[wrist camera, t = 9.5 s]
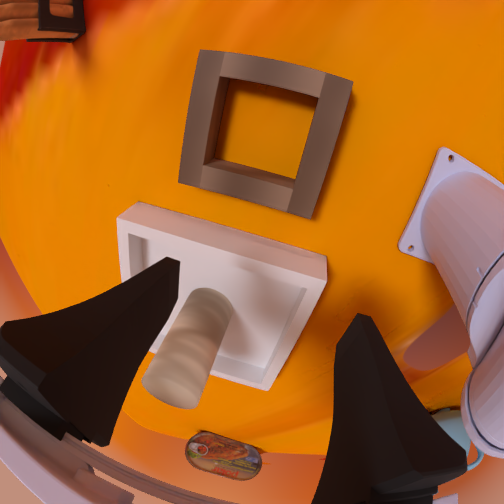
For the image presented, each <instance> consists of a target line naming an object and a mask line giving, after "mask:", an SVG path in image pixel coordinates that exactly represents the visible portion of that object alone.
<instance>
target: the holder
mask: <svg viewBox="0 0 504 504" xmlns="http://www.w3.org/2000/svg"><path fill="white" fill-rule="evenodd" d="M230 78H232V79H239V80H244V81H250V82H255V83H260V84H265V85H270V86H274V87H278V88H283V89H287V90H291V91H295V92H299V93H302V94H306V95H309V96H313V97H316V98H318V101H317V105H316V109H315V112H314V116H313V120H312V123H311V127H310V130H309V134H308V137H307V141H306V144H305V148H304V151H303V155H302V158H301V162H300V165H299V169H298V172H297V176H296V179H292V178H288V177H285V176H282V175H278V174H274V173H271V172H267V171H264V170H260V169H256V168H252V167H249V166H245V165H241V164H237V163H233V162H229V161H224V160H220V159H216V158H214V155H215V150H216V144H217V139H218V133H219V128H220V123H221V118H222V113H223V108H224V103H225V98H226V93H227V89H228V84H229V80H230ZM352 85H353V81H350V80H347V79H345V78H342V77H338V76H335V75H332V74H329V73H326V72H322V71H319V70H315V69H312V68H308V67H304V66H300V65H296V64H292V63H288V62H283V61H278V60H274V59H268V58H263V57H258V56H252V55H245V54H238V53H231V52H222V51H212V50H200V52H199V56H198V61H197V65H196V70H195V75H194V80H193V85H192V90H191V96H190V102H189V107H188V113H187V119H186V126H185V132H184V139H183V146H182V154H181V162H180V170H179V179H178V183H182V184H186V185H190V186H194V187H198V188H202V189H205V190H209V191H213V192H217V193H221V194H224V195H228V196H232V197H236V198H239V199H243V200H246V201H250V202H254V203H257V204H261V205H264V206H268V207H271V208H274V209H278V210H281V211H285V212H288V213H291V214H294V215H298V216H301V217H304V218H307V219H311V216H312V213H313V211H314V208H315V205H316V202H317V199H318V196H319V193H320V190H321V187H322V184H323V181H324V178H325V175H326V172H327V169H328V166H329V162H330V159H331V156H332V153H333V150H334V147H335V143H336V140H337V137H338V134H339V130H340V127H341V124H342V120H343V117H344V113H345V110H346V107H347V103H348V100H349V96H350V92H351V89H352Z"/></svg>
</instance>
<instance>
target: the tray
mask: <svg viewBox="0 0 504 504" xmlns="http://www.w3.org/2000/svg"><path fill="white" fill-rule="evenodd" d="M117 233H118V248H119V260H120V270H121V279H122V283H123V282H124V281H126V280H128V279H130V278H131V277H133V276H135V275H136V274H138V273H140V272H141V271H143V270H145V269H146V268H148V267H150V266H151V265H153V264H155V263H156V262H158V261H160V260H161V259H163V258H165V257H170V258H173V259H176V260H179V261H180V275H179V293H178V300H177V302H176V304H175V307H174V309H173V311H172V313H171V315H170V317H169V319H168V321H167V322H166V324H165V325H164V327H163V329H162V330H161V332H160V333H159V335H158V337H157V338H156V340H155V341H154V343H153V344H152V346H151V348H150V349H149V351H150V352H153V353H155V354H156V352H157V351H158V349H159V347H160V345H161V344H162V342H163V340H164V338H165V336H166V335H167V333H168V331H169V329H170V328H171V326H172V324H173V322H174V321H175V319H176V317H177V315H178V314H179V312H180V310H181V308H182V307H183V305H184V303H185V302H186V300H187V298H188V296H189V295H190V293H191V292H192V291H193V290H195V289H197V288H211V289H214V290H216V291H218V292H220V293H222V294H223V295H224V296H226V297H227V298H228V300H229V301H230V303H231V305H232V308H233V313H232V316H231V319H230V321H229V324H228V327H227V329H226V332H225V335H224V337H223V340H222V342H221V345H220V348H219V350H218V353H217V356H216V358H215V361H214V363H213V366H212V369H211V371H210V374H212V375H215V376H218V377H221V378H224V379H227V380H230V381H234V382H237V383H240V384H244V385H247V386H251V387H255V388H258V389H262V390H266V391H268V390H269V389H270V387H271V385H272V384H273V382H274V380H275V379H276V377H277V375H278V373H279V372H280V370H281V368H282V366H283V365H284V363H285V361H286V359H287V358H288V356H289V354H290V352H291V351H292V349H293V347H294V345H295V343H296V341H297V340H298V338H299V336H300V334H301V332H302V330H303V328H304V326H305V325H306V323H307V321H308V319H309V317H310V315H311V313H312V311H313V309H314V307H315V305H316V303H317V301H318V299H319V297H320V295H321V293H322V291H323V289H324V287H325V285H326V283H327V259H326V256H324V255H321V254H318V253H314V252H311V251H308V250H305V249H301V248H298V247H295V246H291V245H288V244H285V243H281V242H278V241H275V240H271V239H268V238H265V237H261V236H258V235H255V234H251V233H248V232H244V231H241V230H238V229H234V228H231V227H227V226H224V225H220V224H217V223H213V222H210V221H206V220H203V219H199V218H196V217H192V216H189V215H185V214H182V213H178V212H175V211H171V210H168V209H164V208H160V207H157V206H153V205H149V204H146V203H142V202H137V203H136V204H134V205H133V206H131V207H130V208H129V209H127V210H126V211H125V212H123V213H122V214H121V215H119V216H118V217H117Z"/></svg>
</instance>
